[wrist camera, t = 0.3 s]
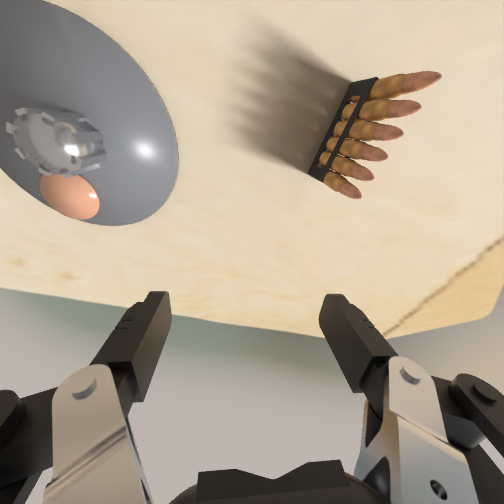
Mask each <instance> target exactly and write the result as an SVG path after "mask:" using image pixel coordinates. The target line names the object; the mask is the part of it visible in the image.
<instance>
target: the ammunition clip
mask: <svg viewBox="0 0 504 504" xmlns="http://www.w3.org/2000/svg"><path fill="white" fill-rule="evenodd" d="M441 77H442V75H441V74H440V73H438V72H433V71H422V72H417V73H411V74H397V75H393V76H390V77H386V78H382V79H379V78H378V77H374V78H370V79H366V80H361V81H356V82H352V83H351V85H350V87H349V89H348V91H347V93H346V95H345V97H344V99H343V101H342V103H341V105H340V108H339V110H338V112H337V114H336V116H335V118H334V120H333V122H332V124H331V126H330V128H329V130H328V132H327V134H326V137H325V139H324V141H323V143H322V145H321V147H320V149H319V151H318V153H317V155H316V157H315V159H314V161H313V163H312V165H311V168H310V170H309V172H308V175H310V176H311V177H313V178H315V179H317V180H319V181H321V182H323V183H324V184H326V185H327V186H329V187H330V188H331V189H333V190H334V191H336V192H340V193H342V194H344V195H346V196H347V197H350V198H354V199H360V198H362V194H361V192H360V191H359V189H358V188H357V187H355V186H354V185H353V184H351V183H350V182H348V181H347V179H346V178H345V177H343V176H341V174H342V175H344V176H350V177H352V178H355V179H358V180H363V181H371V180H373V179H374V175H373V173H372V172H371V171H370V170H368V169H367V168H365V167H363V166H361V165H360V164H357V163H356V162H355V161H354V160H352V159H350V158H353V159H362V160H368V161H383V160H386V159H387V158H388V155H387V153H386V152H385V151H383V150H382V149H380V148H378V147H374V146H371V145H368V144H366V143H365V142H362V141H371V140H382V141H386V140H393V139H397V138H399V137H401V136H403V134H404V133H403V131H402V130H401V129H399V128H398V127H395V126H391V125H385V124H379V123H377V122H373V121H380V120H384V119H388V118H397V117H403V116H407V115H410V114H413V113H415V112H417V111H418V110H420V109H421V107H422V106H421V105H420V104H419V103H418V102H415V101H411V100H389V99H390V98H395V97H398V96H400V95H402V94H406V93H410V92H414V91H418V90H421V89H424V88H426V87H429V86H430V85H432V84H434V83H436V82H437V81H438V80H440V79H441ZM378 79H379V80H378ZM345 138H349V139H345ZM351 139H354V140H351ZM360 140H362V141H360ZM337 154H340V155H343V156H345V157H343V156H340V155H337ZM329 168H330V169H332V170H334V171H336V172H334V171H332V170H330V169H329Z"/></svg>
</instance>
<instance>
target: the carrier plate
mask: <svg viewBox="0 0 504 504" xmlns="http://www.w3.org/2000/svg"><path fill="white" fill-rule="evenodd" d="M178 161H179V155H178V144H177V140H176V135H175V130H174V127H173V124H172V121H171V118H170V116H169V113H168V111H167V109H166V106H165V104H164V102H163V100H162V98H161V97H160V95H159V93H158V91H157V90H156V88H155V86H154V85H153V83H152V82H151V80H150V79H149V78H148V76H147V75H146V73H145V72H144V71H143V70H142V68H141V67H140V66H139V65H138V64H137V62H136V61H135V60H134V59H133V58H132V57H131V56H130V55H129V54H128V53H127V52H126V51H125V50H124V49H123V48H122V47H121V46H120V45H119V44H118V43H117V42H115V41H114V40H113V39H112V38H111V37H109V36H108V35H107V34H106V33H104V32H103V31H102V30H100V29H99V28H97V27H96V26H94V25H92V24H91V23H89V22H88V21H86V20H85V19H83V18H82V17H80V16H78V15H76V14H74V13H72V12H70V11H68V10H66V9H64V8H62V7H60V6H57V5H54V4H51V3H48V2H45V1H42V0H0V168H1V169H2V170H3V171H4V172H5V173H6V174H7V175H8V176H9V177H10V178H11V179H12V180H13V181H14V182H16V183H17V184H18V185H19V186H20V187H21V188H23V189H24V190H25V191H26V192H28V193H29V194H30V195H32V196H33V197H35V198H36V199H38V200H39V201H41V202H42V203H44V204H45V205H47V206H49V207H51V208H53V209H54V210H56V211H58V212H59V213H61V214H63V215H65V216H67V217H70V218H73V219H78V220H80V221H84V222H88V223H92V224H98V225H107V226H120V225H128V224H133V223H136V222H139V221H142V220H144V219H146V218H148V217H149V216H151V215H152V214H154V213H155V212H156V211H157V210H158V209H159V208H160V207H161V206H162V205H163V204H164V203H165V202H166V200H167V199H168V197H169V196H170V194H171V192H172V190H173V188H174V185H175V182H176V179H177V173H178Z"/></svg>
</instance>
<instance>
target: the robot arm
mask: <svg viewBox="0 0 504 504" xmlns="http://www.w3.org/2000/svg"><path fill="white" fill-rule="evenodd" d="M171 321H172V314H171V306H170V299H169V293H168V292H167V291H151V292H149V294H148V295H147V297H146V299H145V300H144V302H137V303H136V304H134V305H133V306H132V307H130V308H129V309H128V310H127V311H126V313H125V314H124V315H123V317H122V318H121V321H120V322H119V323H118V324H117V326H116V327H115V330H113V332H112V333H111V334H110V336H109V337H108V339H107V340H106V342H105V343H104V345H103V346H102V348H101V349H100V350H99V352H98V353H97V355H96V357H95V358H94V359H93V361H92V362H91V363H90V365H89V366H87V367H84V368H82V369H80V370H78V371H77V372H75V373H73V374H72V375H70V376H69V377H68V378H67V379H66V380H64V381H63V382H62V384H61V385H60V386H59V387H56V388H53V389H50V390H47V391H43V392H40V393H37V394H33V395H30V396H27V397H24V398H19V397H18V395H17V394H16V393H15V392H14V391H11V390H0V504H25V502H26V500H27V499H28V497H29V495H30V493H31V491H32V489H33V488H34V486H35V484H36V482H37V481H38V479H39V477H40V475H41V473H42V471H43V470H46V469H48V468H50V467H53V477H52V481H51V482H50V483H48V484H47V486H46V488H45V491H44V495H43V503H42V504H154V503H153V500H152V496H151V493H150V489H149V486H148V483H147V480H146V477H145V474H144V471H143V467H142V464H141V460H140V457H139V453H138V450H137V447H136V443H135V439H134V436H133V433H132V429H131V426H130V422H129V418H128V414H129V411H130V408H131V406H132V404H133V402H143V401H144V399H145V395H146V393H147V390H148V388H149V385H150V382H151V379H152V376H153V374H154V371H155V368H156V365H157V363H158V360H159V357H160V355H161V352H162V349H163V346H164V344H165V341H166V338H167V335H168V333H169V330H170V327H171ZM319 325H320V328H321V330H322V332H323V334H324V336H325V338H326V340H327V342H328V344H329V346H330V348H331V349H332V352H333V354H334V356H335V358H336V360H337V362H338V363H339V366H340V368H341V370H342V372H343V374H344V376H345V378H346V380H347V382H348V384H349V386H350V388H351V390H352V391H353V393H364V394H365V395H366V397H367V399H366V401H365V404H364V415H363V427H362V437H361V447H360V453H359V457H358V460H357V463H356V466H355V471H354V476H353V475H350V474H348V473H346V472H344V469H343V466H342V464H341V461H340V460H330V461H319V462H308V463H306V464H304V465H302V466H300V467H298V468H296V469H294V470H292V471H290V472H289V473H287V474H285V475H283V476H281V477H279V478H277V479H269V478H265V477H262V476H258V475H255V474H252V473H248V472H245V471H241V470H238V469H228V470H217V471H205V472H199V473H198V482H197V484H196V485H194V486H192V487H189V488H188V489H187V490H185V491H184V492H182V493H181V494H179V495H178V496H177V497H176V498H175V499H174V500H172V501H171V502H170V503H169V504H504V474H503V473H502V472H501V471H500V469H499V468H498V467H497V466H496V465H495V463H494V462H493V461H492V460H491V458H490V457H489V456H488V455H487V453H486V452H485V451H484V450H483V448H482V447H481V446H480V445H479V443H480V442H481V441H483V440H484V439H485V438H487V439H488V440H489V441H490V442H491V443H492V445H493V446H494V447H495V448H496V449H497V450H498V452H499V453H500V454H501V455H502V456H503V458H504V396H503V395H502V394H501V393H500V392H499V391H498V390H497V389H495V388H494V387H493V386H491V385H490V384H488V383H487V382H485V381H483V380H481V379H479V378H477V377H475V376H472V375H469V374H458V375H457V377H456V378H455V379H454V380H453V381H449V380H445V379H441V378H438V377H434V376H430V375H429V374H428V373H427V372H426V371H425V370H424V369H423V368H422V367H421V366H419V365H418V364H417V363H415V362H413V361H411V360H409V359H407V358H404V357H400V356H398V354H397V353H396V352H395V351H394V349H393V348H392V347H391V346H390V345H389V343H388V342H387V341H386V340H385V338H384V337H383V336H382V335H381V334H380V332H379V331H378V330H377V329H376V328H375V326H374V325H373V324H372V323H371V321H369V319H368V318H367V317H366V315H365V314H364V313H363V312H362V311H361V310H360V309H359V308H357V307H356V306H355V305H353V304H350V303H349V301H348V300H347V299H346V298H345V296H344V295H342V294H327V295H326V296H325V298H324V301H323V305H322V308H321V311H320V314H319Z"/></svg>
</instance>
